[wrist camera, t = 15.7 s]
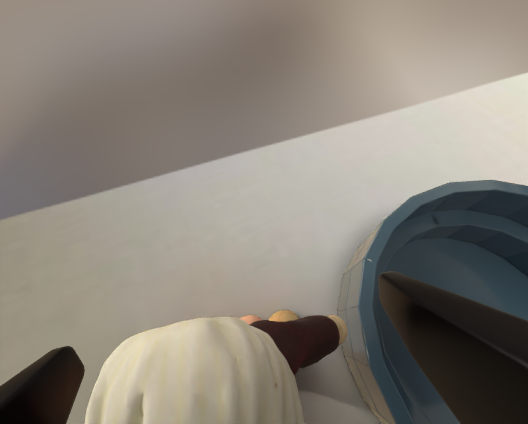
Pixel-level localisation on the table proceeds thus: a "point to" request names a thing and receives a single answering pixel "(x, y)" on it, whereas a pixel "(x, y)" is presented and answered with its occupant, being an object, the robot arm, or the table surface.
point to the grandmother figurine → (213, 371)
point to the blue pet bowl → (437, 274)
